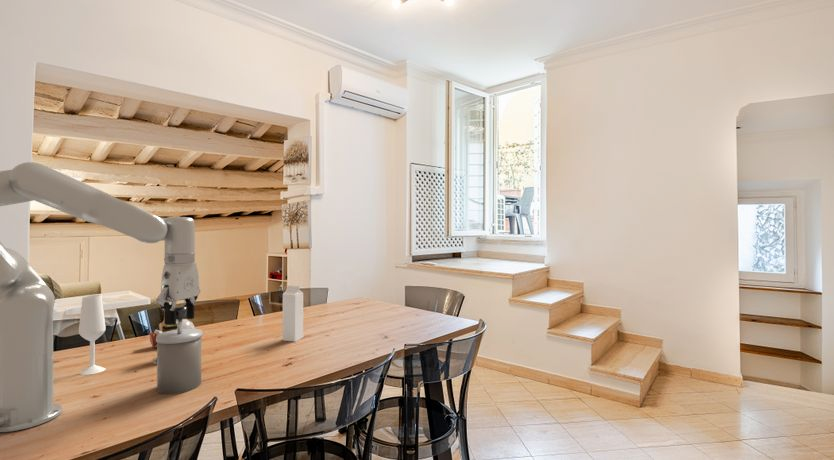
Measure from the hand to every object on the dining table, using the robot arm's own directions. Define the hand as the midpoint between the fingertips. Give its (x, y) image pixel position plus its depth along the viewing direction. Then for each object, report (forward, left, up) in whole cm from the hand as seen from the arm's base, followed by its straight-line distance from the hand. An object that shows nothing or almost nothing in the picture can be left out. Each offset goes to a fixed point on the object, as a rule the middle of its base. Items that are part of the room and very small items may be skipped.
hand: (179, 320), depth 116 cm
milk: (+51, -10, -19) cm, 55 cm away
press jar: (0, 0, -19) cm, 19 cm away
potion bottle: (+36, +32, -19) cm, 52 cm away
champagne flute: (+6, +36, -19) cm, 41 cm away
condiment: (+20, +21, -19) cm, 35 cm away
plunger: (0, 0, -4) cm, 4 cm away
